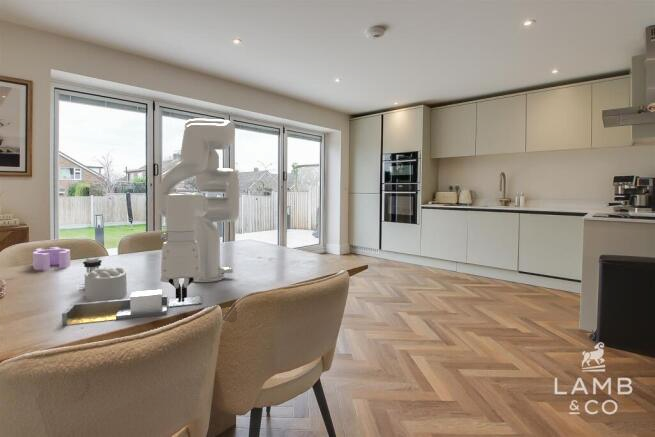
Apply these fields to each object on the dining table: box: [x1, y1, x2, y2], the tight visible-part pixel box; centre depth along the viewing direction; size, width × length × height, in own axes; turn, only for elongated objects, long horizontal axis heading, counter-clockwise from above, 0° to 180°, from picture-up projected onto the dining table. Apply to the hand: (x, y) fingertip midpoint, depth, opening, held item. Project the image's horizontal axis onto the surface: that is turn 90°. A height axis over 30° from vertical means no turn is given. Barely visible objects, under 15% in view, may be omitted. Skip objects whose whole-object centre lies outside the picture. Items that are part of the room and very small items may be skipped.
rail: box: [61, 295, 168, 326], centre depth 94 cm, size 24×8×3 cm, turn 113°
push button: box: [79, 257, 103, 289], centre depth 119 cm, size 7×5×10 cm
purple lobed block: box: [32, 246, 71, 272], centre depth 150 cm, size 20×12×7 cm, turn 47°
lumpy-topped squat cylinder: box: [84, 266, 128, 302], centre depth 110 cm, size 10×13×9 cm
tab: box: [168, 295, 202, 308], centre depth 106 cm, size 9×7×1 cm
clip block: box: [129, 289, 163, 313], centre depth 96 cm, size 8×4×4 cm, turn 112°
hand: (181, 300), depth 99 cm, fingers closed
